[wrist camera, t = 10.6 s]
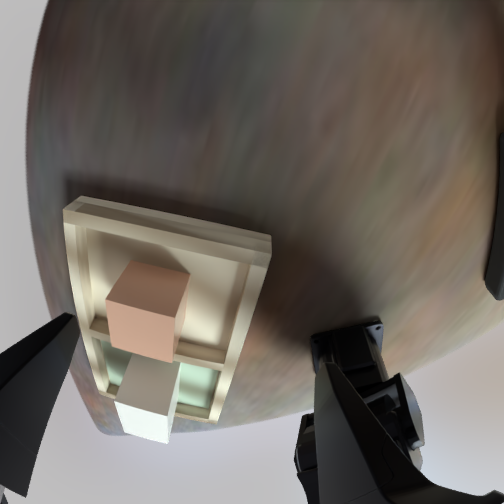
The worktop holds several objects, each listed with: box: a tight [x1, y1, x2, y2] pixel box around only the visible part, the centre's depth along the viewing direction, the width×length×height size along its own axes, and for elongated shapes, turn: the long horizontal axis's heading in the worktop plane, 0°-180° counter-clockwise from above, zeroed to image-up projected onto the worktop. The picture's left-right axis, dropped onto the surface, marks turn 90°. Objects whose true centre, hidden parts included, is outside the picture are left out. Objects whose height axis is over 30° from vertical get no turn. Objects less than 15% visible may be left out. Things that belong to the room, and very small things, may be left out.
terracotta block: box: [105, 260, 191, 363], centre depth 19 cm, size 4×4×4 cm
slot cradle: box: [63, 196, 272, 424], centre depth 23 cm, size 23×14×2 cm, turn 167°
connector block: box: [114, 353, 181, 444], centre depth 24 cm, size 4×7×6 cm, turn 167°
